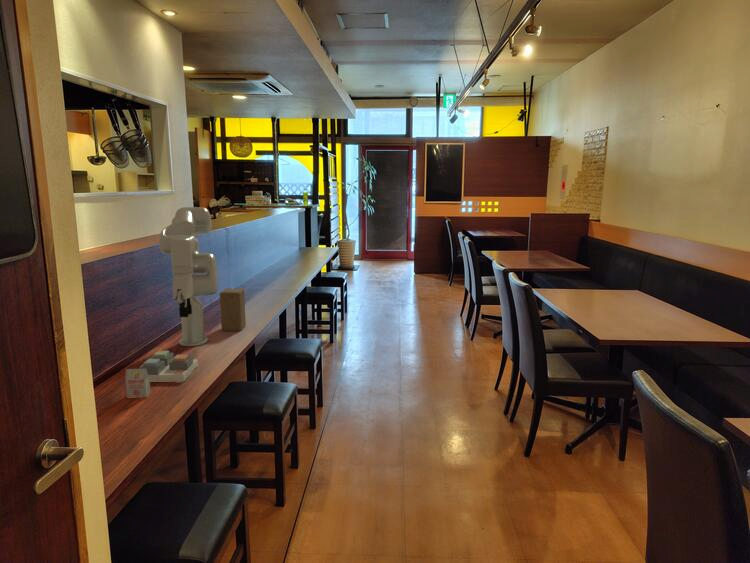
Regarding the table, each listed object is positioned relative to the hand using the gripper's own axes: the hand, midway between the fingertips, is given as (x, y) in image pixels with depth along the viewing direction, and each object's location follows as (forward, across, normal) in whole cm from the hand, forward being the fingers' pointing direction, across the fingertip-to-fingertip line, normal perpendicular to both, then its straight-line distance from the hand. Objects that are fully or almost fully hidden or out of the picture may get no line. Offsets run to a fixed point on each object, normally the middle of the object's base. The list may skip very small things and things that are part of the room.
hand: (185, 315), depth 188 cm
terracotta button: (+16, +9, 0) cm, 18 cm away
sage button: (+16, +4, -9) cm, 19 cm away
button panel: (+21, +8, -4) cm, 23 cm away
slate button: (+16, +13, -9) cm, 23 cm away
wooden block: (+21, -52, +5) cm, 56 cm away
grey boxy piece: (+22, +28, -8) cm, 36 cm away
